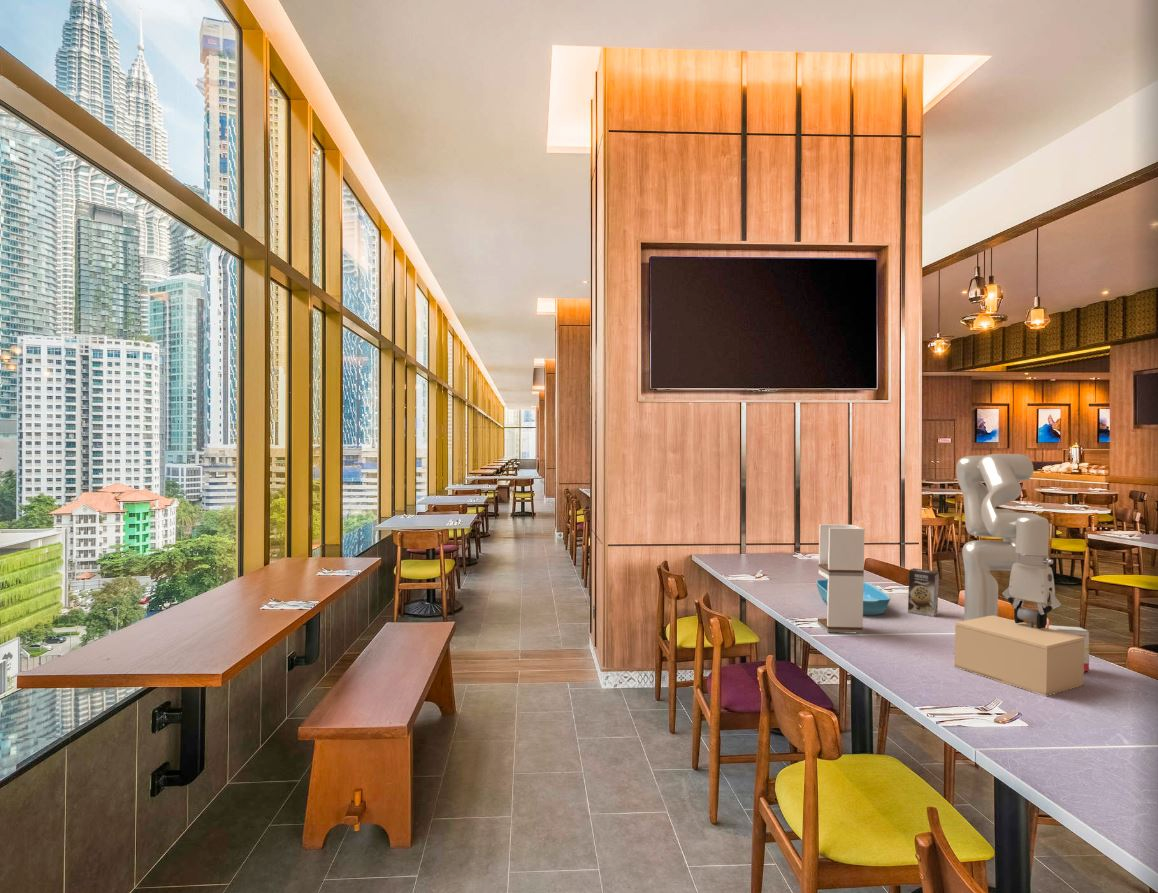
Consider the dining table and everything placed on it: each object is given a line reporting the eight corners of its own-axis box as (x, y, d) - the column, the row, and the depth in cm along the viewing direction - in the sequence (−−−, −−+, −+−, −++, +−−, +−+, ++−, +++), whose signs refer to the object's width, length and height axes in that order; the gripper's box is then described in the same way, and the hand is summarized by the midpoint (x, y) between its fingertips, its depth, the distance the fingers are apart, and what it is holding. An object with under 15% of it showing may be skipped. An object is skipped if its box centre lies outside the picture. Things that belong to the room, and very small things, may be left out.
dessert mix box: (907, 612, 252) (908, 569, 251) (912, 609, 256) (912, 567, 256) (933, 617, 246) (934, 573, 245) (938, 613, 250) (939, 570, 250)
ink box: (1079, 667, 193) (1080, 626, 192) (1089, 673, 188) (1090, 631, 188) (1046, 664, 194) (1047, 624, 194) (1055, 670, 189) (1056, 629, 189)
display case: (850, 624, 234) (852, 524, 233) (862, 633, 223) (864, 528, 223) (817, 624, 234) (819, 524, 234) (827, 632, 223) (829, 528, 223)
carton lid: (992, 618, 199) (993, 598, 199) (1084, 640, 178) (1084, 618, 178) (955, 625, 190) (955, 604, 190) (1047, 649, 169) (1047, 626, 169)
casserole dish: (898, 619, 242) (899, 600, 242) (835, 617, 244) (835, 597, 244) (864, 596, 279) (864, 579, 279) (809, 594, 281) (809, 577, 281)
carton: (991, 658, 199) (992, 618, 199) (1083, 685, 178) (1084, 640, 178) (954, 667, 191) (955, 625, 190) (1045, 696, 169) (1047, 649, 169)
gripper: (1073, 564, 181) (1071, 631, 181) (1007, 554, 196) (1006, 616, 196) (1057, 566, 177) (1056, 635, 178) (992, 556, 192) (991, 619, 193)
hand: (1030, 624), depth 187 cm, fingers closed on carton lid, 5 cm apart
